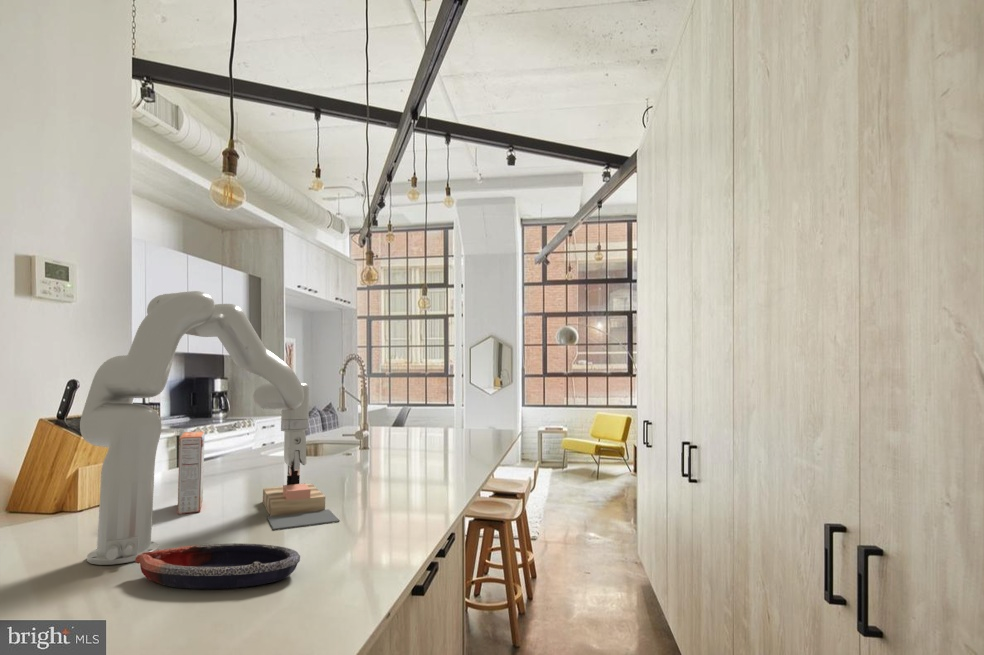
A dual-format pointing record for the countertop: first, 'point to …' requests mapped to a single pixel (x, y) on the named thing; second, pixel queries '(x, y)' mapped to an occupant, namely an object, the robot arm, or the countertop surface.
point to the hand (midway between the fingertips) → (293, 489)
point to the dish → (218, 565)
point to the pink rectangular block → (296, 491)
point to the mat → (301, 519)
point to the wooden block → (292, 501)
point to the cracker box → (190, 472)
